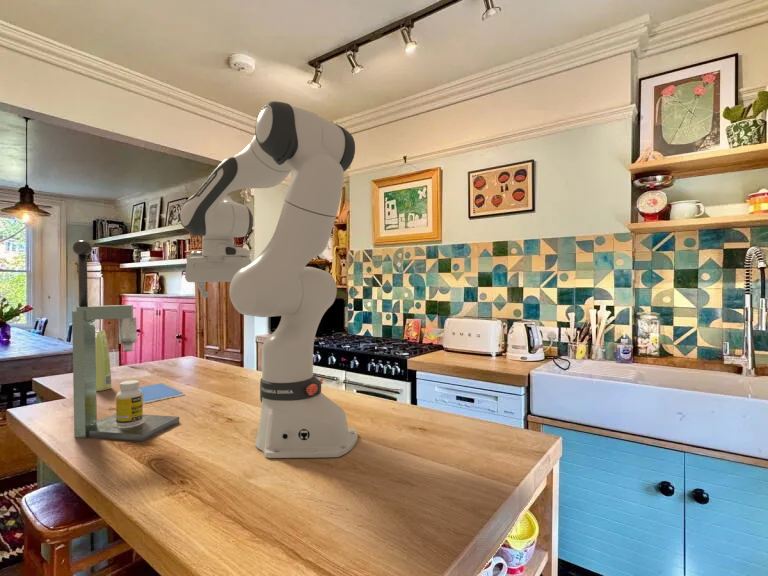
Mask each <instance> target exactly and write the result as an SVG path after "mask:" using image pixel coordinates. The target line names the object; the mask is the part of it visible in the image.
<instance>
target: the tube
mask: <svg viewBox="0 0 768 576" xmlns="http://www.w3.org/2000/svg"><path fill="white" fill-rule="evenodd" d="M95 343H96V392H100V391H107V390H110V389H111V388H112V374H111V373H112V371H111V363H110V362H111V360H110V351H109V344H108V338H107V334H106V329H102V330H100V331H97V334H96V336H95Z"/></svg>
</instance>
